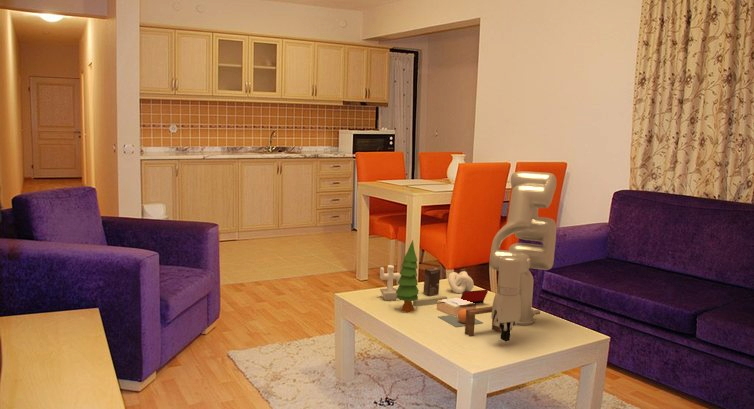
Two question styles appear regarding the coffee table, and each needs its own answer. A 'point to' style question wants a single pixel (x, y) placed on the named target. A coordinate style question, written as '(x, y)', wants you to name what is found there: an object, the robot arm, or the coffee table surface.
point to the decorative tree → (408, 280)
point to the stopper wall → (428, 301)
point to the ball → (462, 315)
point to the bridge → (471, 319)
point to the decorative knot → (460, 282)
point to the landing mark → (456, 320)
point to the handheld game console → (475, 296)
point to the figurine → (389, 283)
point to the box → (431, 281)
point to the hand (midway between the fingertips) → (505, 340)
